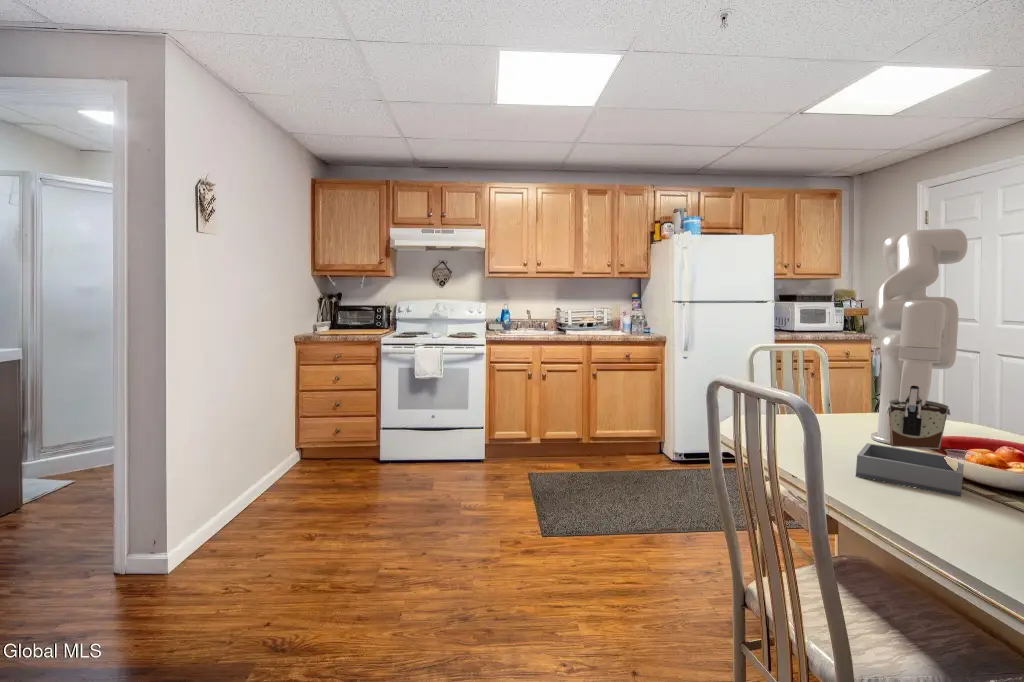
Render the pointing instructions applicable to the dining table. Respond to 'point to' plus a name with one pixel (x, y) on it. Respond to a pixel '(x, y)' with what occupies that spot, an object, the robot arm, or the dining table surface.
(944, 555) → the dining table surface
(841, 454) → the dining table surface
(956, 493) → the bin
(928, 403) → the food container
